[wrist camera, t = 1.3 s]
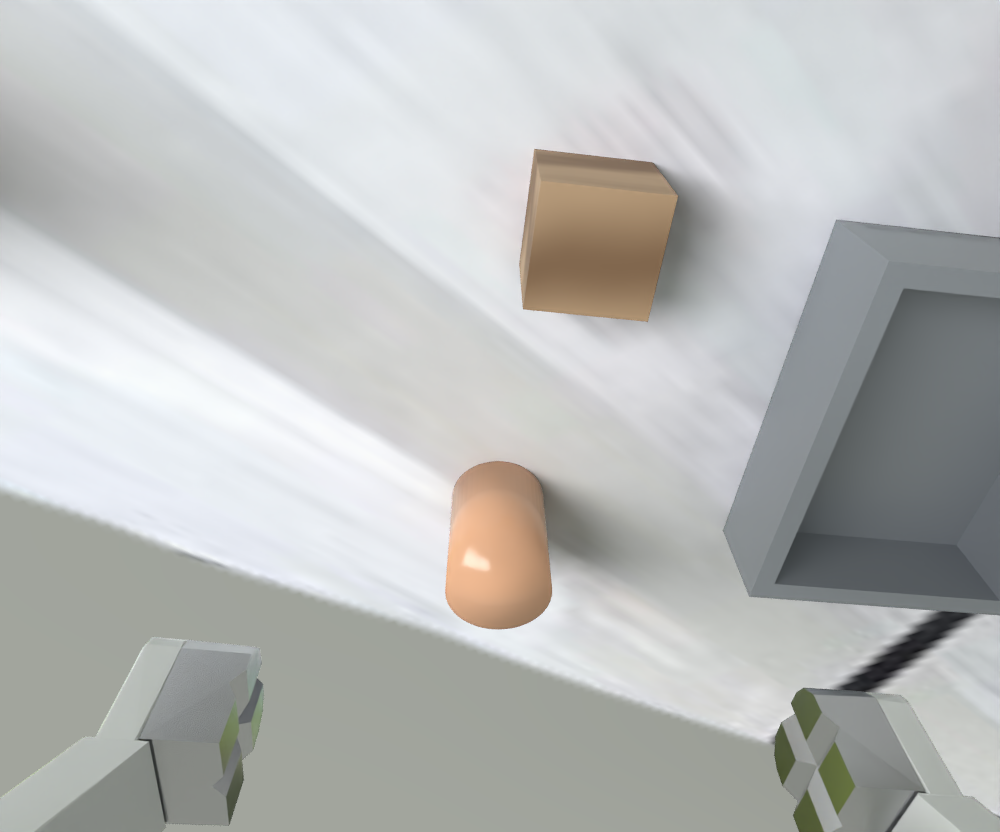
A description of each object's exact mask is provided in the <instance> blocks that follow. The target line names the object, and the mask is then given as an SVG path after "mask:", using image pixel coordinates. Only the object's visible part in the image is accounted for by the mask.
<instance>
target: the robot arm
mask: <svg viewBox="0 0 1000 832" xmlns="http://www.w3.org/2000/svg"><path fill="white" fill-rule="evenodd" d="M261 664H262V661H261V652H260V648H258V647H251V646H241V645H231V644H222V643H211V642H203V641H192V640H180V639H169V638H158V637H152V638H151V639H150V640H149V641H148V643H146V645H144V646H143V649H142V650H141V652H140V654H139V656H138V658H137V659H136V661H135V663H134V665H133V667H132V669H131V671H130V673H129V675H128V676H127V678H126V680H125V682H124V684H123V686H122V688H121V690H120V691H119V694H118V695H117V697H116V699H115V701H114V703H113V705H112V707H111V708H110V710H109V712H108V714H107V716H106V718H105V720H104V722H103V723H102V725H101V727H100V729H99V731H98V733H97V735H96V737H83V738H82V739H81V740H79V741H78V742H76V743H75V744H74V745H72V746H71V747H69V748H68V749H67V750H65V751H64V752H62V753H61V754H60V755H58V756H57V757H56V758H54V759H53V760H51V761H50V762H49V763H47V764H46V765H45V766H43V767H42V768H40V769H39V770H38V771H36V772H35V773H34V774H32V775H31V776H29V777H28V778H27V779H25V780H24V781H23V782H21V783H20V784H18V785H17V786H16V787H14V788H13V789H12V790H10V791H9V792H7V793H6V794H5V795H3V796H2V797H1V798H0V832H162V831H163V830H164V829H165V828H166V825H165V824H192V825H223V826H229V825H230V821H231V819H232V815H233V812H234V809H235V806H236V803H237V800H238V797H239V793H240V790H241V787H242V784H243V781H244V775H243V764H242V760H243V759H244V758H245V757H246V756H247V755H248V754H250V753H251V752H252V751H253V749H254V746H255V742H256V739H257V736H258V732H259V727H260V722H261V717H262V712H263V700H264V690H263V684H262V683H261V682H260V681H259V680H258V679H257V676H258V673H259V670H260V667H261ZM791 705H792V707H793V710H794V712H795V714H794V715H792V716H791V717H789V718H787V719H786V720H784V721H783V722H781V724H780V727H779V729H778V731H777V734H776V736H775V751H774V756H775V762H776V768H777V772H778V774H779V777H780V780H781V783H782V786H783V787H784V788H785V789H786V790H787V791H788V792H789V793H790V794H791V795H792V796H793V797H794V798H795V799H796V800H797V801H798V802H797V805H796V808H795V811H794V814H793V817H794V820H795V822H796V825H797V828H798V830H799V832H1000V818H998V817H997V816H996V815H995V814H993V813H992V812H991V811H990V810H989V809H987V808H986V807H985V806H984V805H982V804H981V803H980V802H979V801H978V800H976V799H975V798H974V797H970V796H963V794H962V793H961V791H960V789H959V788H958V786H957V784H956V782H955V781H954V779H953V777H952V776H951V774H950V772H949V770H948V769H947V767H946V765H945V764H944V762H943V760H942V758H941V757H940V755H939V753H938V752H937V750H936V748H935V746H934V745H933V743H932V741H931V740H930V738H929V736H928V734H927V733H926V731H925V729H924V728H923V726H922V724H921V722H920V721H919V719H918V717H917V716H916V714H915V712H914V710H913V709H912V707H911V705H910V704H909V702H908V701H907V700H906V699H905V698H903V697H902V696H901V695H894V694H881V693H865V692H863V691H847V690H831V689H815V688H803V689H801V690H799V691H798V692H796V694H795V696H794V698H793V700H792V702H791Z"/></svg>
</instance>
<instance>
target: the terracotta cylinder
mask: <svg viewBox="0 0 1000 832" xmlns="http://www.w3.org/2000/svg"><path fill="white" fill-rule="evenodd" d="M445 594H446V599H447V602H448V604H449V606H450V608H451V609H452V610H453V612H454V613H455V614H456V615H457V616H459V617H460V618H461V619H463V620H464V621H466V622H468V623H470V624H473V625H475V626H478V627H482V628H488V629H509V628H514V627H518V626H521V625H524V624H527V623H529V622H531V621H532V620H534V619H536V618H537V617H538V616H539V615H541V614H542V613H543V612H544V611H545V609H546V608H547V606H548V605H549V603H550V600H551V597H552V584H551V573H550V562H549V552H548V541H547V530H546V520H545V509H544V498H543V491H542V487H541V485H540V483H539V481H538V479H537V478H536V477H535V476H534V475H533V474H532V473H531V472H530V471H528V470H527V469H525V468H523V467H521V466H519V465H517V464H513V463H509V462H502V461H495V462H487V463H483V464H479V465H477V466H475V467H473V468H471V469H469V470H468V471H466V472H465V473H464V474H463V475H462V476H461V477H460V478H459V479H458V481H457V482H456V484H455V486H454V489H453V494H452V507H451V521H450V534H449V548H448V561H447V575H446V589H445Z"/></svg>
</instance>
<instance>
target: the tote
mask: <svg viewBox="0 0 1000 832" xmlns="http://www.w3.org/2000/svg"><path fill="white" fill-rule="evenodd" d="M723 532H724V534H725V537H726V539H727V542H728V544H729V547H730V549H731V552H732V554H733V557H734V559H735V562H736V564H737V567H738V569H739V572H740V574H741V577H742V579H743V582H744V584H745V587H746V589H747V592H748V595H749V597H761V598H775V599H788V600H802V601H815V602H828V603H842V604H855V605H869V606H882V607H896V608H909V609H923V610H936V611H950V612H963V613H976V614H990V615H1000V238H996V237H987V236H978V235H969V234H960V233H951V232H942V231H933V230H924V229H915V228H906V227H897V226H888V225H879V224H869V223H860V222H851V221H842V220H836V223H835V225H834V228H833V231H832V234H831V236H830V239H829V242H828V244H827V247H826V250H825V253H824V255H823V258H822V261H821V264H820V266H819V269H818V272H817V275H816V277H815V280H814V283H813V286H812V288H811V291H810V294H809V297H808V299H807V302H806V305H805V308H804V310H803V313H802V316H801V319H800V321H799V324H798V327H797V330H796V332H795V335H794V338H793V341H792V343H791V346H790V349H789V352H788V354H787V357H786V360H785V363H784V365H783V368H782V371H781V374H780V376H779V379H778V382H777V385H776V387H775V390H774V393H773V395H772V398H771V401H770V404H769V406H768V409H767V412H766V415H765V417H764V420H763V423H762V426H761V428H760V431H759V434H758V437H757V439H756V442H755V445H754V448H753V450H752V453H751V456H750V459H749V461H748V464H747V467H746V470H745V472H744V475H743V478H742V481H741V483H740V486H739V489H738V492H737V494H736V497H735V500H734V503H733V505H732V508H731V511H730V514H729V516H728V519H727V522H726V525H725V527H724V530H723Z"/></svg>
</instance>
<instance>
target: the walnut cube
mask: <svg viewBox="0 0 1000 832" xmlns="http://www.w3.org/2000/svg"><path fill="white" fill-rule="evenodd" d="M677 198H678V195H677V194H676V193H675V191H674V190H673V189H672V187H671V186H670V185H669V183H668V182H667V181H666V179H665V178H664V177H663V175H662V174H661V173H660V171H659V170H658V169H657V167H656V166H655V165H654V163H652V162H644V161H635V160H626V159H617V158H608V157H600V156H591V155H582V154H573V153H565V152H556V151H547V150H538V149H534V156H533V164H532V171H531V179H530V187H529V194H528V202H527V209H526V217H525V225H524V232H523V240H522V248H521V255H520V263H519V266H520V278H521V290H522V302H523V309H526V310H536V311H546V312H556V313H566V314H576V315H586V316H596V317H606V318H616V319H626V320H636V321H646V322H648V319H649V314H650V310H651V306H652V302H653V298H654V294H655V290H656V285H657V281H658V277H659V273H660V269H661V265H662V261H663V256H664V252H665V248H666V244H667V240H668V236H669V232H670V227H671V223H672V219H673V215H674V211H675V207H676V203H677Z"/></svg>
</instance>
